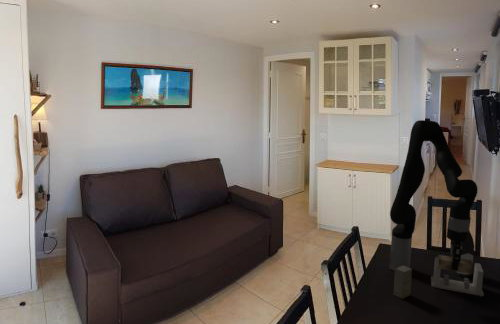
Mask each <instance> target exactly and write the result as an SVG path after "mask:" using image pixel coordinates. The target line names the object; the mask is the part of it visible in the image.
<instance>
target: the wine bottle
mask: <svg viewBox="0 0 500 324" xmlns="http://www.w3.org/2000/svg"><path fill="white" fill-rule="evenodd" d="M471 219H472V217H470V218H469V222H470V223H471ZM470 227H471V224H470V225H469V229H471V228H470ZM461 243H462V252H461V258H462V259H468V260H471V261H472V264H474V255H475V242H474V238H473V236H472V233H471V231H470V230H469V234H468V240H467V241H466V242H461ZM453 274H454V275H456V276H458V277H460V276H462V278H471V277H472V274H467V273H461V272H456V271H453ZM470 276H471V277H470Z"/></svg>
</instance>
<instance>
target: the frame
mask: <svg viewBox="0 0 500 324" xmlns="http://www.w3.org/2000/svg"><path fill="white" fill-rule="evenodd" d="M437 263H438V256H434V263H433V265H434V266H433V275H431V276H430V283H431V284H430V285H431V287H432V288H437V289H442V290H447V291H452V292H459V293H464V294H469V295H473V296H478V295H479V296H478V297H483V296H485V295H484V291H483V282H484V281H483V279H484V270H483V268H482V264H481V263H477V262H475V263H474V267H473V268H474V269H473V278H472V283H471V282H470V279H469V277H463V281H461V280H455V279H450V277H449V274H443V275H444V276H443V278H442V277H441V270H442V269H439V268H438V264H437Z"/></svg>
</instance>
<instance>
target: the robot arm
mask: <svg viewBox="0 0 500 324" xmlns="http://www.w3.org/2000/svg"><path fill="white" fill-rule="evenodd" d="M409 137H410V138H409V143H408V150H407V153H406V159H405V162H404V166H403V169H402V173H401V177H400V181H399V185H398V186H397V192H396V194H395V198H394V200H393V202H392V205H391V207H390V212H389V217H390V220H391V221H392V222H393V223H394V224H395V226H394V227H393V228H392V230H391V242H390V243H391V244H390V252H389V268H388V269H389V270H392V271H393V272H395V268H398V267H400V266H403V265H404V266H406V267H409V268H411V256H412V255H411V254H412V242H413V241H412V240H413V234H414V232H415V228H416V219H417V211H416V208H415V207H414V205H412V204H411V203H410V202H411V200H412V197H413V196H414V195H415V194H416V192H417V191H418V190H419V188H420V186H421V185H422V182H423V180H424V176H425V172H426V168H425V167H426V166H425V163H424V162H425V161H424V160H423V155H422V148H423V145H424V142H431V143H432V144H433V146H434V148H435V151H436V153H435V154H436V155H435V161H436V165H437V167H438V168H439V170H440V172H441V174H442V176H443V178H444V182H445V187H446V190H447V192H448V194H449V195H450V196H451V197H452V198H458V200H456V201H454V202H452V203H451V204H450V208H449V217H448V220H447V221H448V223H447V229H446V230H447V231H446V238H448V239H449V240H450V257H452V270H455V271H457V270H458V264H459V263H460V258H461V252H462V243H461V242H466V241H467V240H468V234H469V231H470V228H469V225H470V226H471V221H470V222H469V218H471V210H472V207H473V204H474V203H475V200H476V197H477V195H478V185H477V183H476V182H475V180H473V179H469V178H468V179H459V178H460V176H461V175H462V174H463V169H462V167H461V166H460V164H459V162H457V159H456V158H455V156H454V155H453V153H452V151H451V149H450V146H449V144H448V141H447V139H446V137H445V134H444V131H443V129H442V127H441V125H440V124H439V123H438V121H434V120H425V119H424V120H421V119H420V120H417V121H415V122H414V123H413V125H412V127H411V131H410V136H409ZM455 258H458V259H455Z"/></svg>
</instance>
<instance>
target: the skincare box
mask: <svg viewBox="0 0 500 324" xmlns="http://www.w3.org/2000/svg"><path fill="white" fill-rule="evenodd" d="M412 273H413V268H411V267H410V268H409V267H406V266H404V265H403V266H400V267H398V268H395V271H394V282H393V295H394V296H396V297H397V298H400V299H405V298H406V297H407V298H408V297H409V296H411V292H412V291H411V289H412V279H413V278H412Z"/></svg>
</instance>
